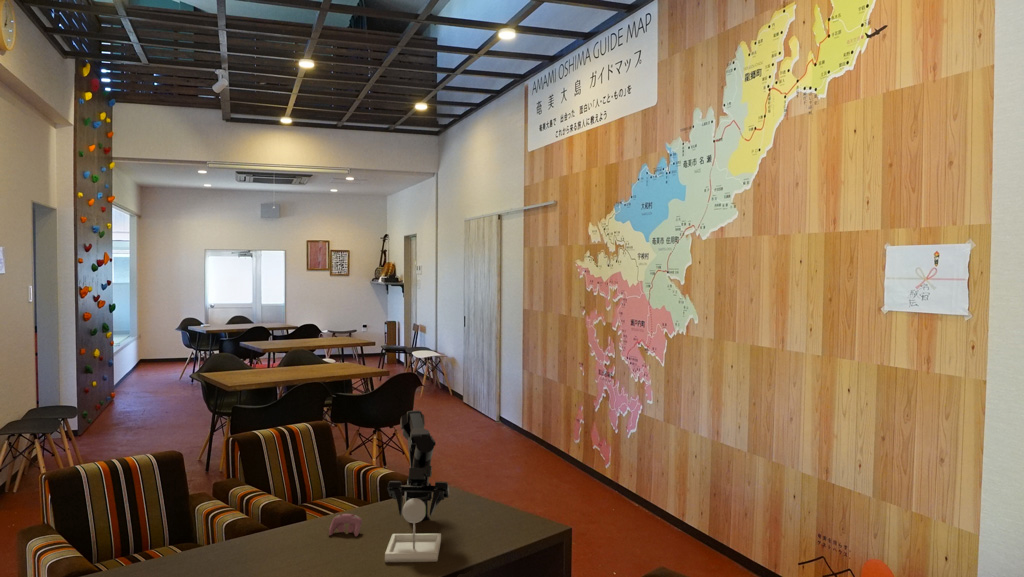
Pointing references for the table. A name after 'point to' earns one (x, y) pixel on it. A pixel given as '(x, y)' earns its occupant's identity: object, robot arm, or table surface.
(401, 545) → the tray
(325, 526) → the table surface
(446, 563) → the table surface
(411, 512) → the lollipop
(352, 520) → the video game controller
